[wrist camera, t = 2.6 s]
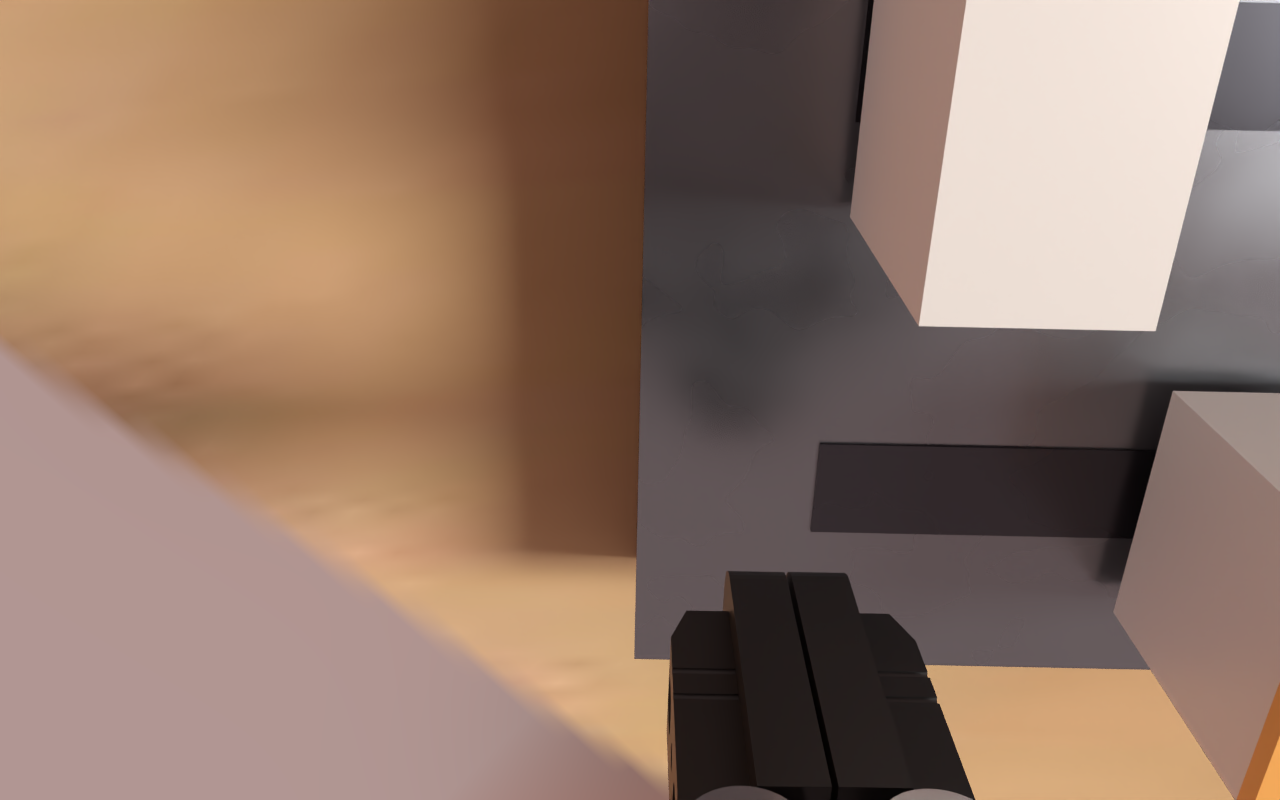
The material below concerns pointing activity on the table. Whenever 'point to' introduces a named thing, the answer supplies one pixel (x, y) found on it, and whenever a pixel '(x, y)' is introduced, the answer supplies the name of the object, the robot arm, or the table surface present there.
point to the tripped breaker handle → (1214, 580)
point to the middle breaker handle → (1034, 154)
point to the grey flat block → (905, 358)
